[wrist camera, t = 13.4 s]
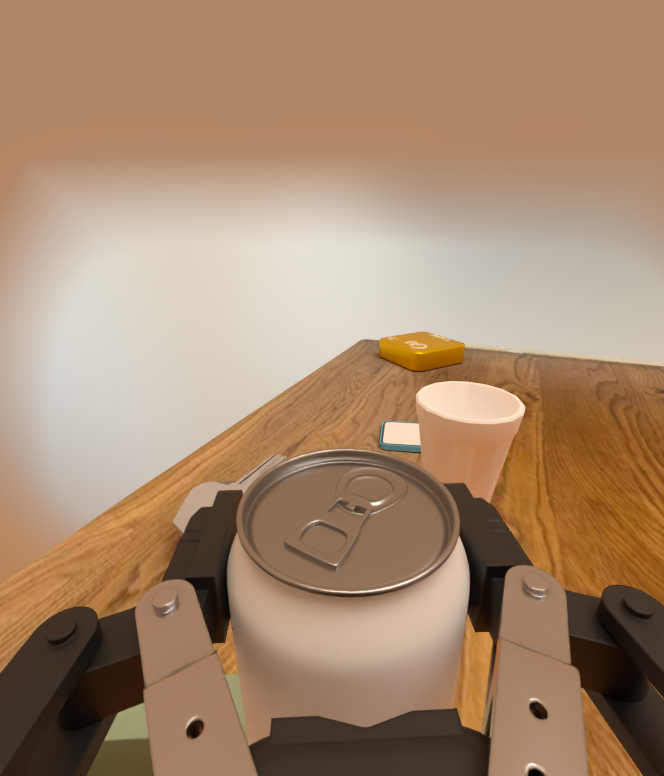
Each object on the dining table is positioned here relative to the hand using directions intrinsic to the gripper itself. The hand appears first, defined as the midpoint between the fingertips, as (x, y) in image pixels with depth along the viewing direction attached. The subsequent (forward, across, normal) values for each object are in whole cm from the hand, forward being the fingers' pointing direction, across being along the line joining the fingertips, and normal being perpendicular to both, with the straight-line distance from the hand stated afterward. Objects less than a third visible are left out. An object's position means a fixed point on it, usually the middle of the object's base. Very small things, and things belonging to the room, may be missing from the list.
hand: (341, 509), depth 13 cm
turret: (+25, +7, +19) cm, 32 cm away
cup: (+24, -14, +20) cm, 34 cm away
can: (-2, 0, +10) cm, 10 cm away
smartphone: (+39, -16, +19) cm, 46 cm away
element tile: (+78, -23, +19) cm, 83 cm away
